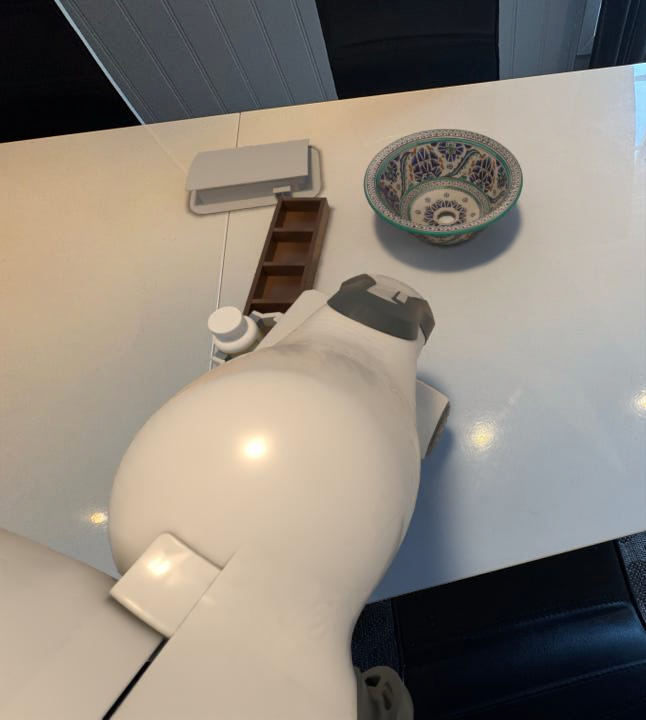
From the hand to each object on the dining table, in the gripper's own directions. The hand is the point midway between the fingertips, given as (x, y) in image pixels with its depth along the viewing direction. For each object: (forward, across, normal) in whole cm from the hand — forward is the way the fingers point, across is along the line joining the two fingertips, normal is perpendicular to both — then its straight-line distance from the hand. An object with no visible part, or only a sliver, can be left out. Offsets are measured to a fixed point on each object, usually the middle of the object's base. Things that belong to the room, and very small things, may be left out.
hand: (234, 337), depth 64 cm
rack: (+6, -13, +9) cm, 17 cm away
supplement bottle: (-1, 0, +6) cm, 6 cm away
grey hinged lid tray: (+27, -33, +9) cm, 44 cm away
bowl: (-10, -38, +9) cm, 40 cm away
